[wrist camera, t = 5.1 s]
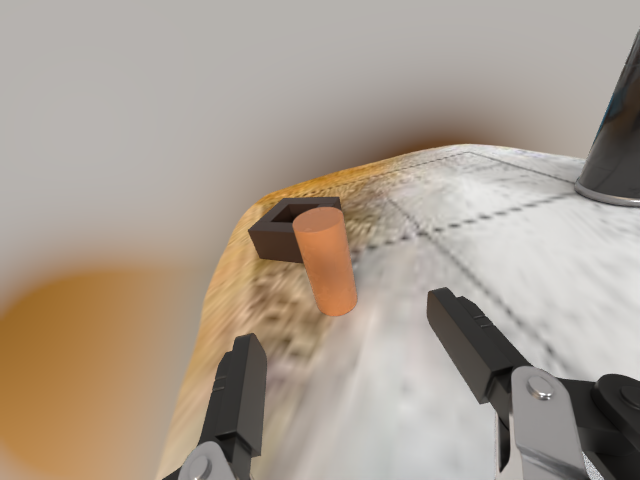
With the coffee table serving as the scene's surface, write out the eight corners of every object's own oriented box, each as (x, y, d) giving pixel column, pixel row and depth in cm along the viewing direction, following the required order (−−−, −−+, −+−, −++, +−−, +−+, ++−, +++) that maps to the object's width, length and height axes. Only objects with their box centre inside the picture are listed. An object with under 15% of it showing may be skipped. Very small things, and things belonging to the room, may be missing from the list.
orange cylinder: (325, 282, 28) (305, 206, 23) (362, 287, 26) (349, 206, 21) (310, 311, 25) (282, 231, 19) (350, 320, 23) (332, 234, 17)
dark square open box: (291, 223, 42) (283, 197, 40) (344, 225, 38) (339, 196, 35) (259, 258, 35) (247, 230, 32) (320, 265, 31) (312, 233, 28)
